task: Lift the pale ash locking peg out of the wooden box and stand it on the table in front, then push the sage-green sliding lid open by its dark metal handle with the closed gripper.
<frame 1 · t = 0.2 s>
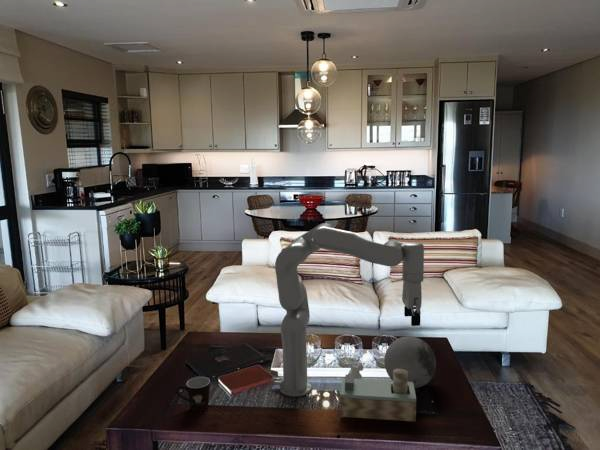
hand: (412, 320, 177), 31 cm above the table, tool pointing down, fingers open, 9 cm apart
coffee mug: (196, 407, 178), on the table
moon model: (409, 386, 191), on the table
wooden box: (377, 412, 172), on the table
duck figurine: (353, 386, 191), on the table
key: (399, 410, 171), point 1 cm above the table, touching wooden box
lid: (377, 385, 170), point 10 cm above the table, slide at 0.0 cm
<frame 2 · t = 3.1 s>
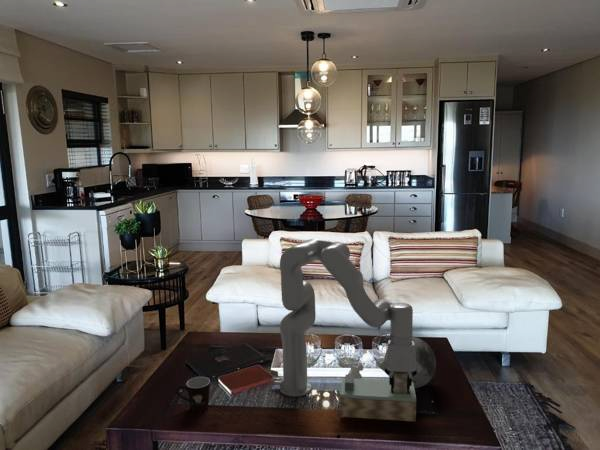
hand: (400, 386, 169), 10 cm above the table, tool pointing down, fingers closed on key, 4 cm apart
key: (399, 410, 171), point 1 cm above the table, touching gripper, wooden box
everything else where it was.
when the fingers open (11 cm above the table, at t = 10.3 s): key drops 2 cm, on the table.
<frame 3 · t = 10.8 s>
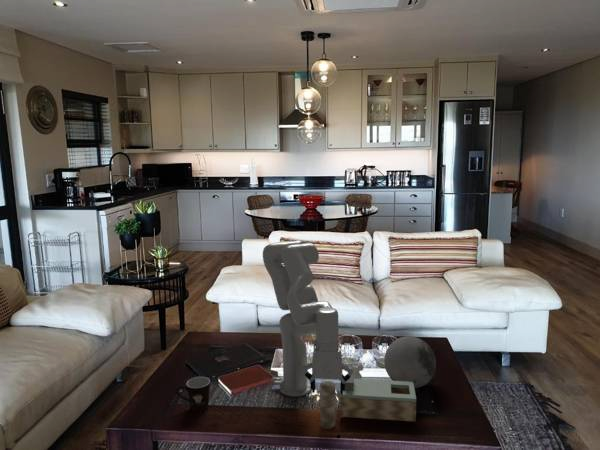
hand: (327, 391, 163), 12 cm above the table, tool pointing down, fingers open, 9 cm apart
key: (328, 424, 165), on the table
everything else where it was.
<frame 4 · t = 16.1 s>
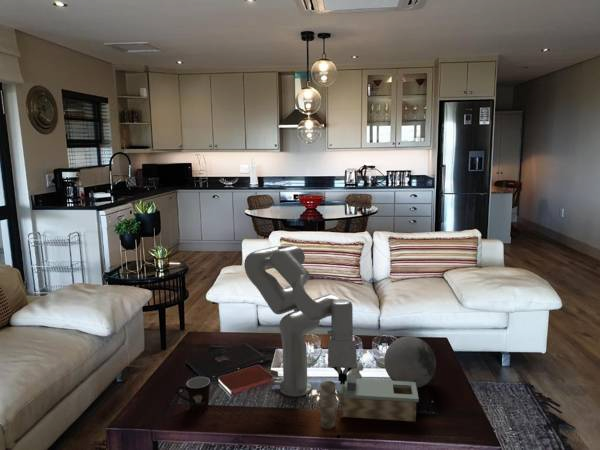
hand: (342, 382, 172), 11 cm above the table, tool pointing down, fingers closed
lid: (379, 385, 170), point 10 cm above the table, slide at 0.8 cm, touching gripper
everything else where it was.
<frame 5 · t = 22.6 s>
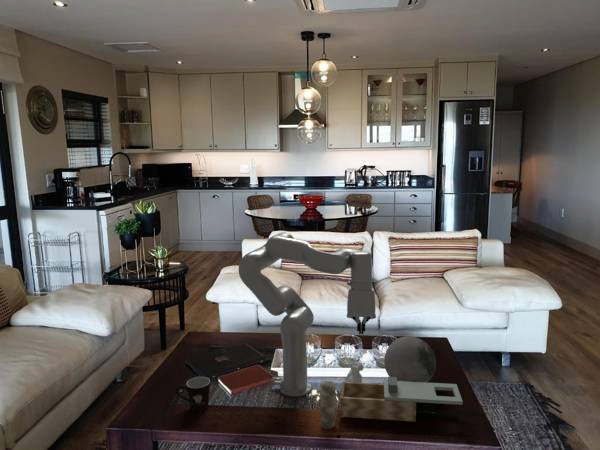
hand: (361, 332, 175), 27 cm above the table, tool pointing down, fingers closed
lid: (421, 388, 168), point 10 cm above the table, slide at 15.3 cm
everything else where it was.
at the end: lid slide at 15.3 cm; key inside the target area (0.5 cm from its centre), on the table; the gripper is holding nothing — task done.
